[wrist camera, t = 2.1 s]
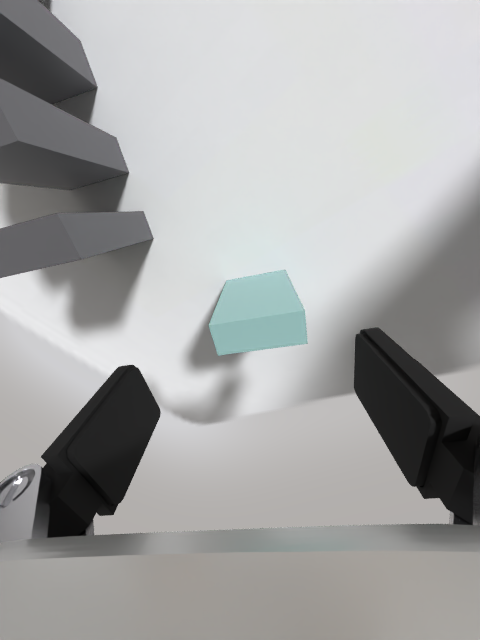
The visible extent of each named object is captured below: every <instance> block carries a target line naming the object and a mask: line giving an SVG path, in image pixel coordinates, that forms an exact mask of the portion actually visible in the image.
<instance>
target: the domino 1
mask: <svg viewBox="0 0 480 640" xmlns="http://www.w3.org/2000/svg"><path fill="white" fill-rule="evenodd" d="M0 78H1V79H3V80H5V81H7V82H9V83H11V84H13V85H15V86H16V87H18V88H20V89H22V90H24V91H26V92H28V93H30V94H32V95H34V96H36V97H38V98H40V99H42V100H44V101H46V102H48V103H50V104H54V103H57V102H59V101H62V100H65V99H67V98H70V97H73V96H76V95H78V94H81V93H84V92H87V91H89V90H92V89H95V88H97V84H96V82H95V79H94V76H93V73H92V71H91V68H90V65H89V63H88V60H87V57H86V54H85V52H84V49H83V46H82V44H81V41H80V40H79V39H78V38H77V37H76V36H75V35H74V34H73V33H72V32H71V31H70V30H69V29H68V28H67V27H66V26H65V25H64V24H62V23H61V22H60V21H59V20H58V19H57V18H56V17H55V16H54V15H53V14H52V13H51V12H50V11H49V10H48V9H47V8H46V7H45V6H44V5H43V4H42V3H41V2H40V1H38V0H0Z"/></svg>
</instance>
